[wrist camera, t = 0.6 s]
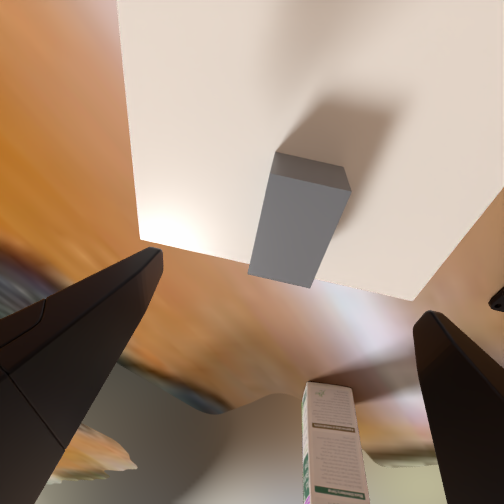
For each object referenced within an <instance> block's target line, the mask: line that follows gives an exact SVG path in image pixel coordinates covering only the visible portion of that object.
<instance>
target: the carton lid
mask: <svg viewBox="0 0 504 504" xmlns="http://www.w3.org/2000/svg"><path fill="white" fill-rule="evenodd" d="M116 2H117V12H118V22H119V32H120V42H121V52H122V62H123V72H124V82H125V92H126V102H127V112H128V122H129V132H130V142H131V152H132V162H133V172H134V182H135V192H136V202H137V212H138V222H139V232H140V239H142V240H146V241H151V242H155V243H159V244H164V245H168V246H173V247H177V248H181V249H186V250H190V251H194V252H199V253H203V254H208V255H212V256H216V257H221V258H225V259H230V260H234V261H238V262H243V263H247V264H250V265H249V269H248V274H249V275H254V276H258V277H262V278H267V279H271V280H275V281H280V282H284V283H288V284H293V285H297V286H302V287H306V288H310V287H311V285H312V283H313V280H314V279H317V280H321V281H326V282H330V283H335V284H339V285H343V286H348V287H352V288H357V289H361V290H365V291H370V292H374V293H378V294H383V295H387V296H392V297H396V298H400V299H405V300H409V301H413V300H414V299H415V298H416V296H417V295H418V294H419V293H420V291H421V290H422V289H423V288H424V286H425V285H426V284H427V282H428V281H429V280H430V279H431V277H432V276H433V275H434V274H435V272H436V271H437V270H438V269H439V267H440V266H441V265H442V264H443V262H444V261H445V260H446V259H447V257H448V256H449V255H450V254H451V252H452V251H453V250H454V249H455V247H456V246H457V245H458V244H459V242H460V241H461V240H462V239H463V237H464V236H465V235H466V234H467V232H468V231H469V230H470V229H471V227H472V226H473V225H474V224H475V222H476V221H477V220H478V219H479V217H480V216H481V215H482V214H483V212H484V211H485V210H486V208H487V207H488V206H489V205H490V203H491V202H492V201H493V200H494V198H495V197H496V196H497V195H498V193H499V192H500V191H501V190H502V188H503V187H504V0H116Z"/></svg>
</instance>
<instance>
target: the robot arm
mask: <svg viewBox="0 0 504 504" xmlns="http://www.w3.org/2000/svg"><path fill="white" fill-rule="evenodd" d="M162 273H163V252H162V250H161V249H159V248H154V247H148V248H146V249H144V250H142V251H140V252H138V253H136V254H134V255H132V256H130V257H128V258H126V259H124V260H122V261H120V262H117V263H115V264H113V265H111V266H109V267H107V268H105V269H103V270H101V271H99V272H97V273H95V274H93V275H91V276H89V277H87V278H85V279H83V280H81V281H79V282H77V283H75V284H73V285H71V286H69V287H67V288H65V289H63V290H61V291H59V292H57V293H55V294H53V295H51V296H49V297H47V298H46V299H42V300H40V301H38V302H36V303H34V304H32V305H30V306H28V307H26V308H24V309H22V310H20V311H17V312H15V313H13V314H11V315H9V316H7V317H4V318H2V319H0V504H34V503H35V502H36V500H37V498H38V497H39V495H40V493H41V491H42V490H43V488H44V486H45V485H46V483H47V481H48V479H49V478H50V476H51V474H52V473H53V471H54V469H55V467H56V466H57V464H58V462H59V460H60V459H61V457H62V455H63V454H64V452H65V449H66V448H67V446H68V445H69V443H70V441H71V440H72V438H73V436H74V434H75V433H76V431H77V429H78V427H79V426H80V424H81V422H82V421H83V419H84V417H85V415H86V414H87V412H88V410H89V408H90V407H91V405H92V403H93V402H94V400H95V398H96V396H97V395H98V393H99V391H100V390H101V388H102V386H103V384H104V383H105V381H106V379H107V378H108V376H109V374H110V372H111V371H112V369H113V367H114V366H115V364H116V362H117V360H118V359H119V357H120V355H121V354H122V352H123V350H124V348H125V347H126V345H127V343H128V341H129V340H130V338H131V336H132V335H133V333H134V331H135V329H136V328H137V326H138V324H139V323H140V321H141V319H142V317H143V316H144V314H145V312H146V310H147V308H148V305H149V303H150V301H151V298H152V296H153V294H154V292H155V289H156V287H157V285H158V282H159V280H160V278H161V275H162ZM488 304H489V306H490V307H491V309H493V310H497V311H501V312H504V288H503V289H502V290H501V291H500V292H499V293H497V294H496V295H495V296H494V297H493V298H492V299H491V300H490V301H489V302H488ZM413 338H414V347H415V355H416V364H417V371H418V377H419V382H420V387H421V391H422V395H423V400H424V404H425V408H426V413H427V417H428V421H429V426H430V430H431V435H432V439H433V443H434V448H435V452H436V456H437V461H438V465H439V469H440V474H441V478H442V482H443V487H444V491H445V495H446V500H447V504H504V369H503V368H502V367H501V366H500V365H499V364H498V363H497V362H496V361H495V360H493V359H492V358H491V357H490V356H489V355H488V354H487V353H486V352H485V351H483V350H482V349H481V348H480V347H479V346H478V345H477V344H476V343H475V342H473V341H472V340H471V339H470V338H469V337H468V336H467V335H466V334H465V333H464V332H462V331H461V330H460V329H459V328H458V327H457V326H456V325H455V324H454V323H452V322H451V321H450V320H449V319H448V318H447V317H446V316H445V315H444V314H442V313H440V312H435V311H431V310H428V311H426V312H425V313H424V314H423V315H422V316H421V318H420V319H419V320H418V321H417V322H416V324H415V325H414V327H413Z"/></svg>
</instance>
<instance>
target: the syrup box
mask: <svg viewBox="0 0 504 504" xmlns="http://www.w3.org/2000/svg"><path fill="white" fill-rule="evenodd" d="M302 451H303V452H302V454H303V504H370V499H369V493H368V487H367V481H366V474H365V468H364V461H363V455H362V449H361V443H360V436H359V431H358V425H357V418H356V412H355V406H354V399H353V393H352V389H351V388H349V387H343V386H338V385H331V384H323V383H315V382H307V385H306V388H305V391H304V395H303V400H302Z"/></svg>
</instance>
